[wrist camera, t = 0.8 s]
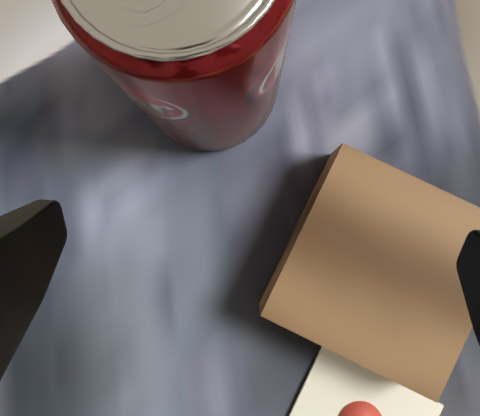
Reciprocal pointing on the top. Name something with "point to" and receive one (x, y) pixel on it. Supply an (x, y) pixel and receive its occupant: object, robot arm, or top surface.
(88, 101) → the top surface
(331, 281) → the base brick
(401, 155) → the top surface
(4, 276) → the robot arm
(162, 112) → the soda can
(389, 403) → the page
